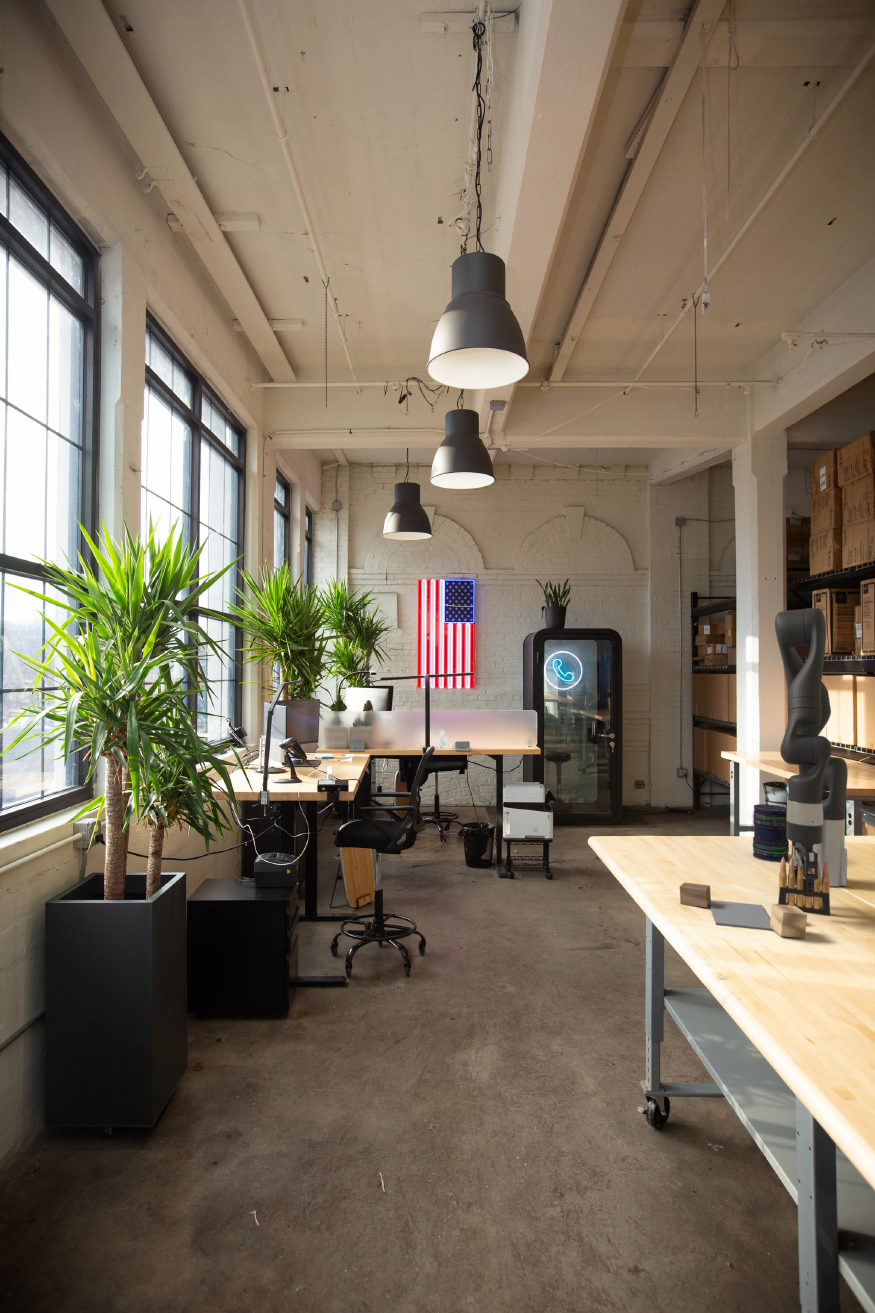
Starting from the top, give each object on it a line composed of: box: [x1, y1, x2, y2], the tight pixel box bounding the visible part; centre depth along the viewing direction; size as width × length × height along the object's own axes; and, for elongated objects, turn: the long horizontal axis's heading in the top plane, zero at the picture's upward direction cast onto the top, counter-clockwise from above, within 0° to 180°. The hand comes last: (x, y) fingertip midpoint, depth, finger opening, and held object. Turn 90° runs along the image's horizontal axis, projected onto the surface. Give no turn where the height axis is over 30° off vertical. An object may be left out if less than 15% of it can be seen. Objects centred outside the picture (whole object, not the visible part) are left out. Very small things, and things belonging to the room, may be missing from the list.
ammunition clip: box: [777, 857, 831, 917], centre depth 164 cm, size 11×2×12 cm, turn 67°
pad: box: [708, 899, 774, 932], centre depth 160 cm, size 12×16×1 cm
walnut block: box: [679, 881, 712, 908], centre depth 167 cm, size 4×6×4 cm, turn 56°
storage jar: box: [752, 803, 790, 863], centre depth 211 cm, size 10×10×15 cm
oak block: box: [770, 903, 808, 939], centre depth 150 cm, size 5×5×5 cm
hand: (803, 890), depth 164 cm, fingers open, 8 cm apart
